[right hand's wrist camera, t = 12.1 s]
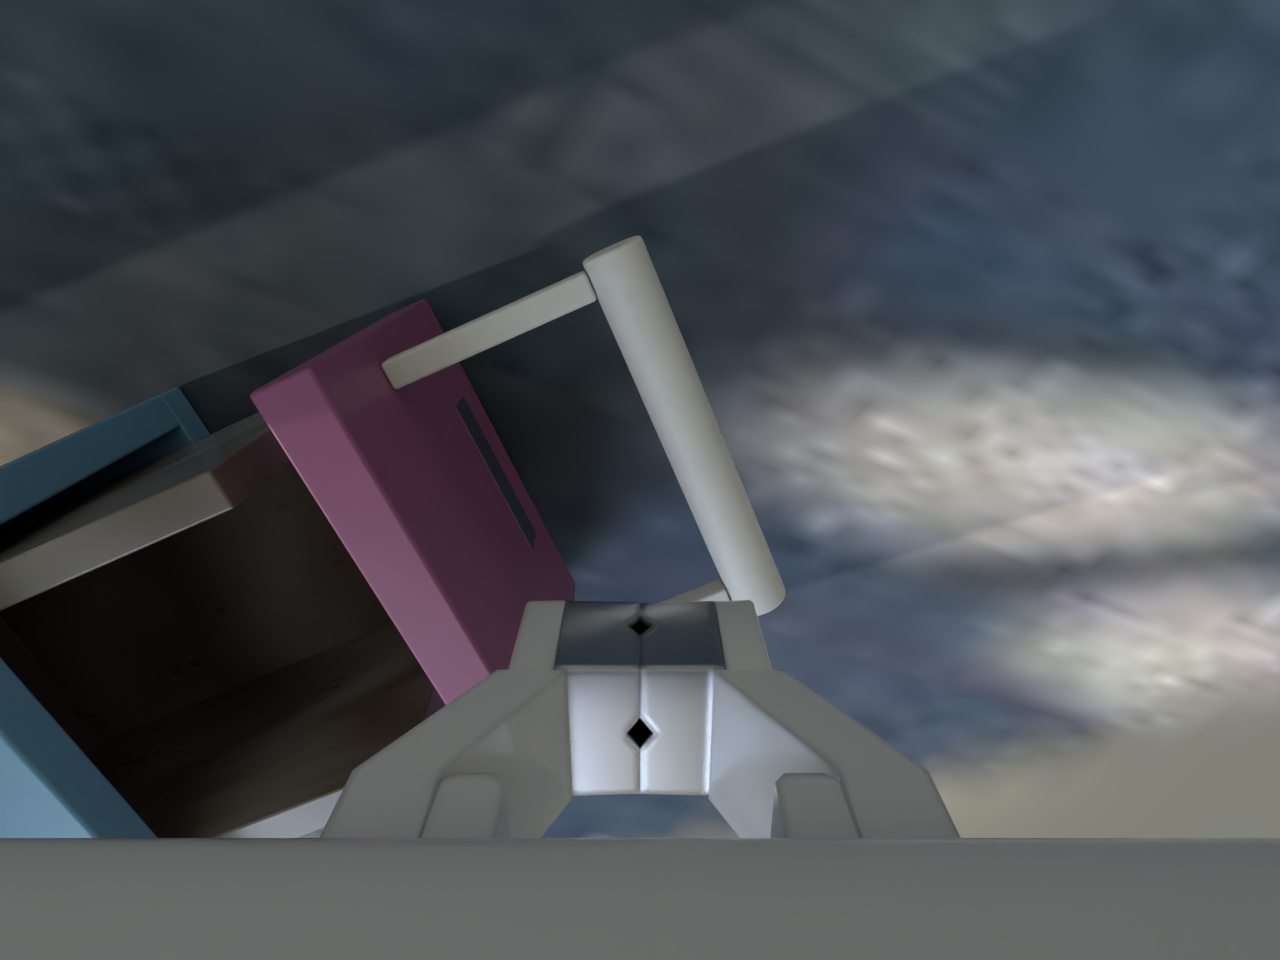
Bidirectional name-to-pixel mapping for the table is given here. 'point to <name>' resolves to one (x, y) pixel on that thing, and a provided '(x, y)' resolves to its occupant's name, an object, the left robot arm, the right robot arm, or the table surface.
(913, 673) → the table surface
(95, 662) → the drawer
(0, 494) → the cabinet
